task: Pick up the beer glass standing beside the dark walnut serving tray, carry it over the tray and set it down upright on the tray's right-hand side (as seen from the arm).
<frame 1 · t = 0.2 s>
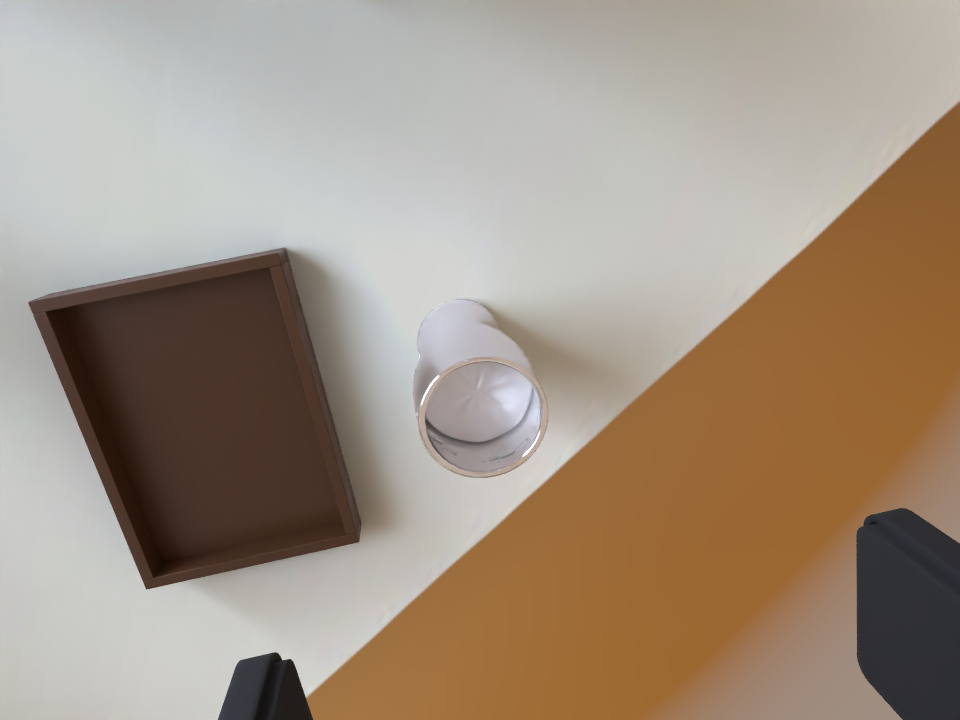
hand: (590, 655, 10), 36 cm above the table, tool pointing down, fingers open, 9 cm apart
beer glass: (459, 339, 46), on the table
tray: (218, 417, 46), on the table
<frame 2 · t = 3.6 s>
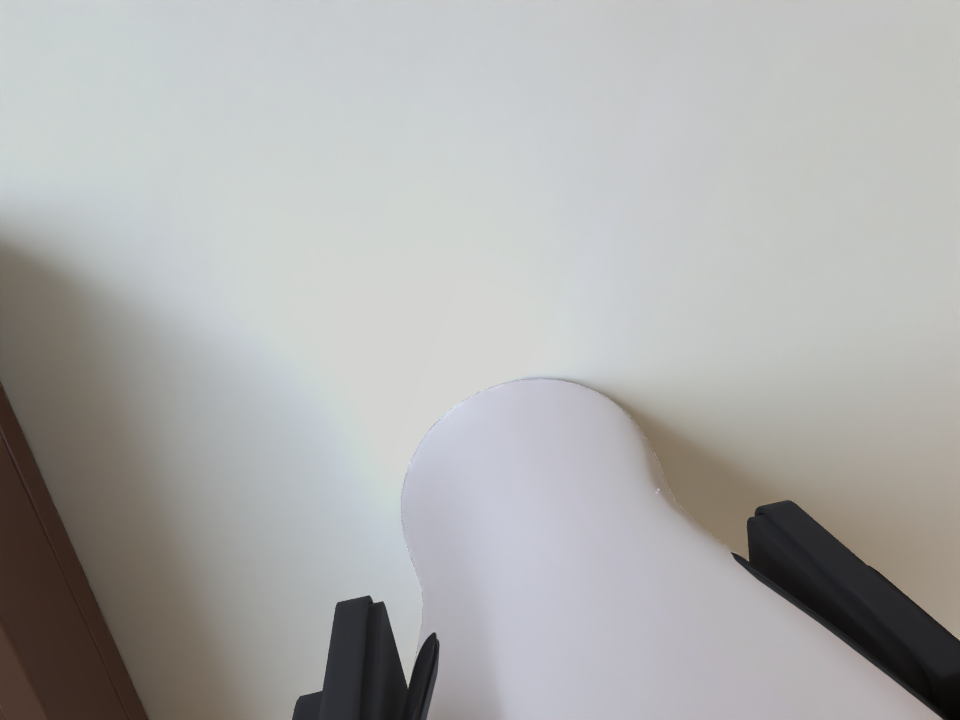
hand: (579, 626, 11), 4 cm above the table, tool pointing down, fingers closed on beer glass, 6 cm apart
beer glass: (529, 494, 15), on the table, touching gripper
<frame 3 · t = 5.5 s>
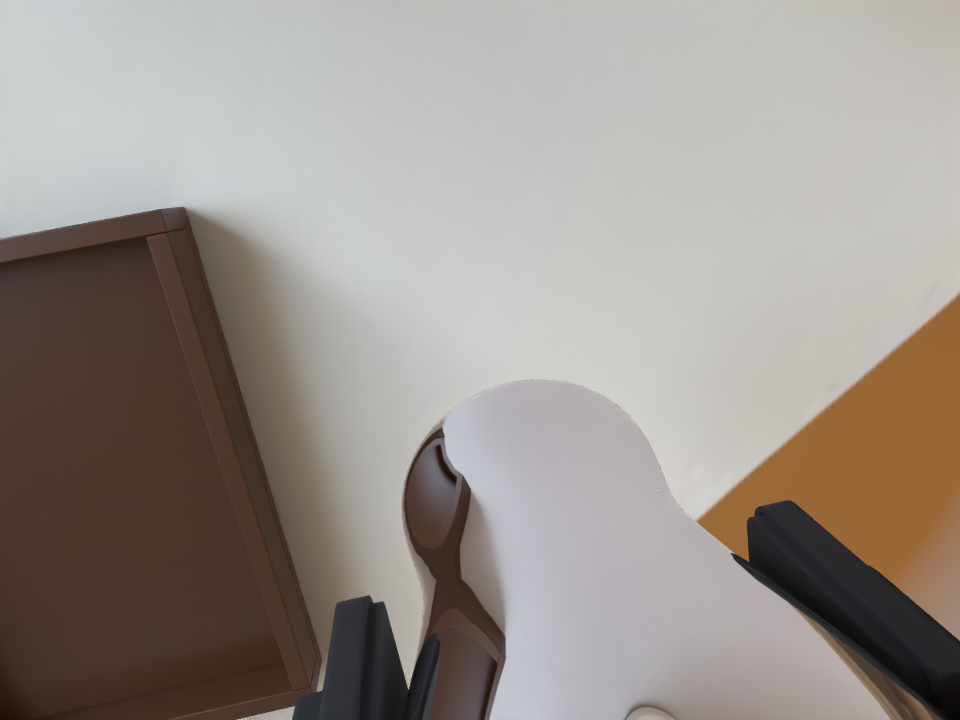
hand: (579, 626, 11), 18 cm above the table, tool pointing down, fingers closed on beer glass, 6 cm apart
beer glass: (529, 494, 15), point 13 cm above the table, touching gripper
tray: (79, 495, 27), on the table
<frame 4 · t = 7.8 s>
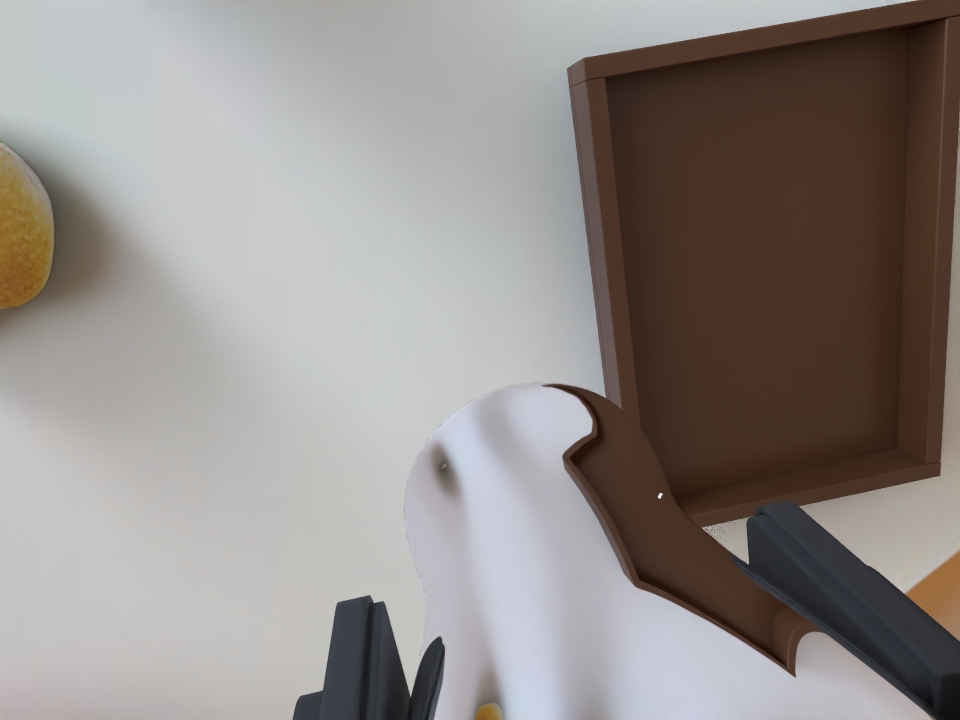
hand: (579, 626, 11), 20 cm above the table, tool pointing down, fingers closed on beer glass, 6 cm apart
beer glass: (531, 497, 15), point 15 cm above the table, touching gripper
tray: (754, 284, 31), on the table
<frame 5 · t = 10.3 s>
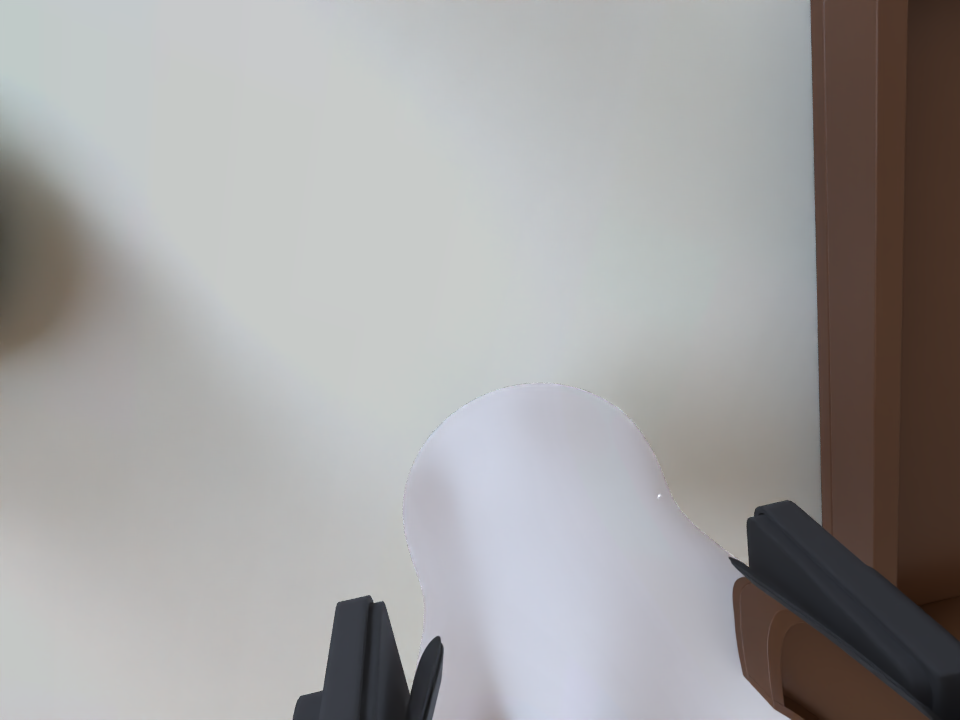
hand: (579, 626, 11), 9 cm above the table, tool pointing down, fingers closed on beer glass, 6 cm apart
beer glass: (530, 497, 15), point 5 cm above the table, touching gripper
when the fingers open (4 cm above the table, at t = 11.9 s): beer glass stays where it is, on the table.
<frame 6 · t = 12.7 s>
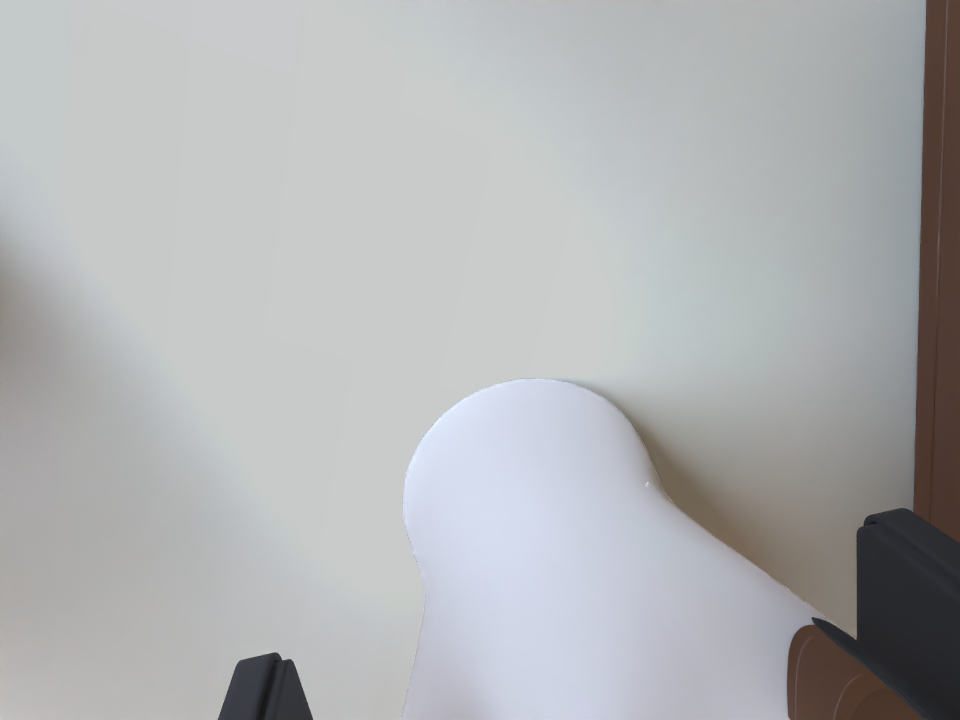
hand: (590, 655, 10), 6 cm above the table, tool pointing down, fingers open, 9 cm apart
beer glass: (526, 490, 16), on the table
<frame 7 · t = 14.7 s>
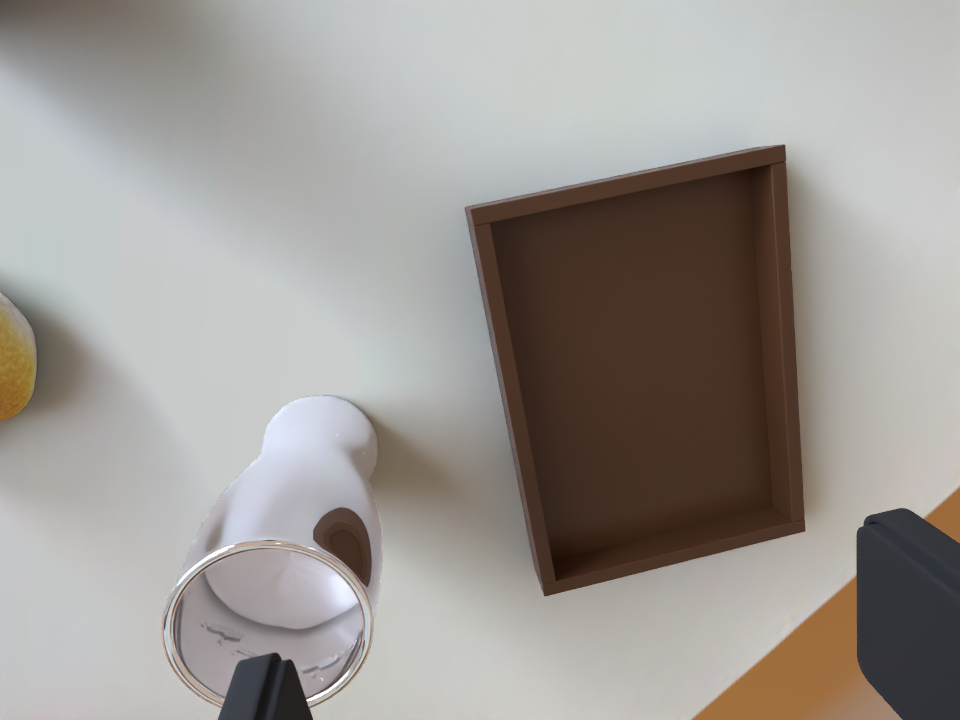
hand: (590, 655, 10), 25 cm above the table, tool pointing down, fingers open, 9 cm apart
beer glass: (321, 446, 35), on the table
tray: (638, 373, 36), on the table
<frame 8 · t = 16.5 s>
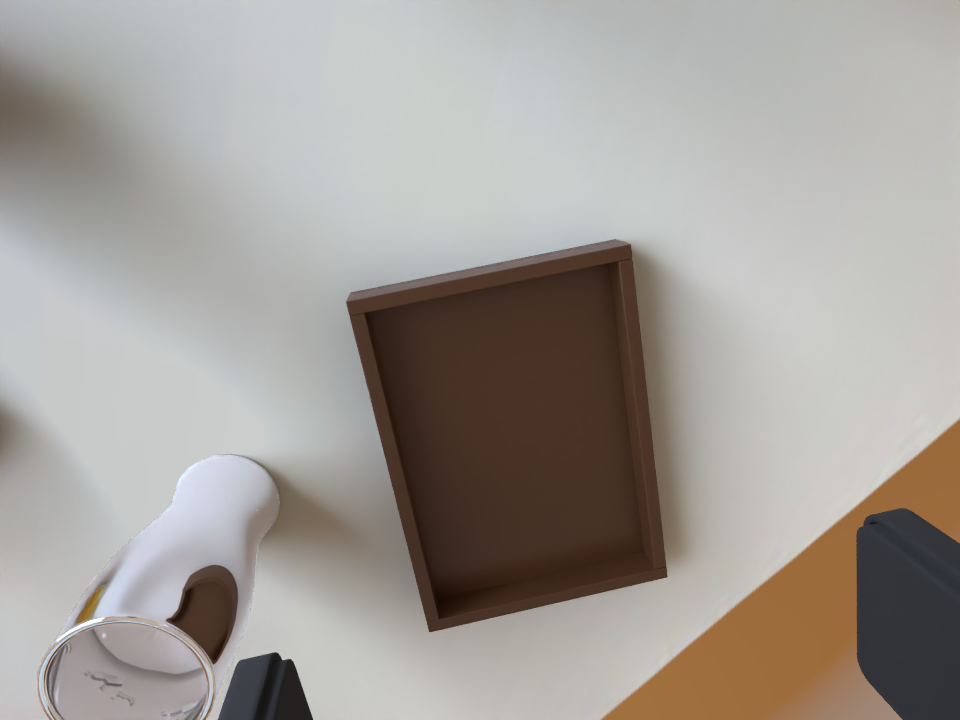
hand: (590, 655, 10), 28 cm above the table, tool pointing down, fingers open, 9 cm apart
beer glass: (229, 497, 39), on the table
tray: (515, 435, 40), on the table
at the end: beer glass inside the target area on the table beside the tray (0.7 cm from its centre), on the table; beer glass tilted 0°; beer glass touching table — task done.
